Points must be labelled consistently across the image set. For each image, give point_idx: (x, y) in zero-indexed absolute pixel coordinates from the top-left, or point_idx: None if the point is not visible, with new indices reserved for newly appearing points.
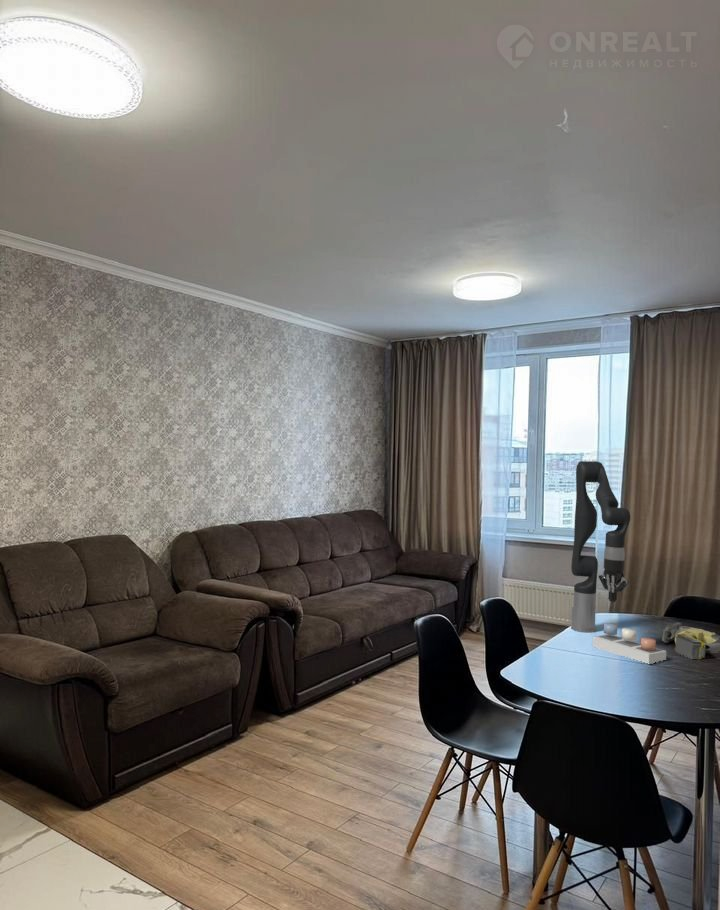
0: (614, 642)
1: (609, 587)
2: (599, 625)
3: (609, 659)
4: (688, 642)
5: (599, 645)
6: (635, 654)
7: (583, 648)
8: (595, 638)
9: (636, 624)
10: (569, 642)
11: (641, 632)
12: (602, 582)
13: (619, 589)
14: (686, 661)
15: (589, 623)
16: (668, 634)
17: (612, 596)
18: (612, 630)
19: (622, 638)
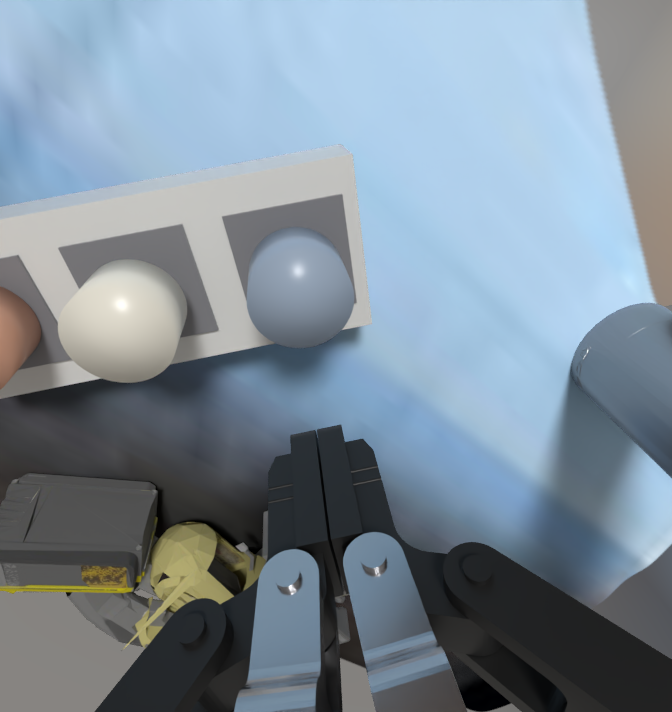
0: (178, 207)
1: (381, 620)
2: (603, 439)
3: (24, 18)
4: (18, 545)
5: (289, 156)
6: None
7: (323, 25)
8: (331, 156)
9: (531, 554)
10: (478, 30)
11: (450, 521)
12: (623, 663)
13: (112, 690)
14: (28, 456)
15: (603, 368)
16: None
17: (294, 492)
18: (251, 269)
19: (141, 261)
